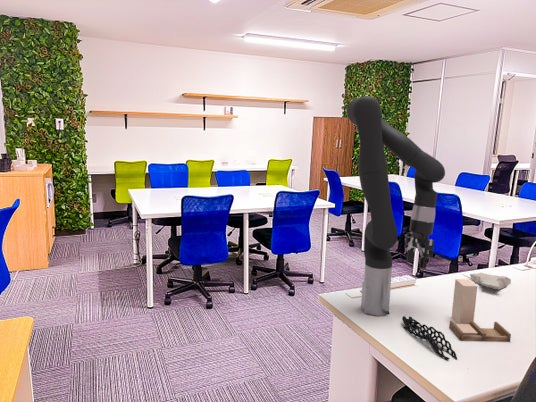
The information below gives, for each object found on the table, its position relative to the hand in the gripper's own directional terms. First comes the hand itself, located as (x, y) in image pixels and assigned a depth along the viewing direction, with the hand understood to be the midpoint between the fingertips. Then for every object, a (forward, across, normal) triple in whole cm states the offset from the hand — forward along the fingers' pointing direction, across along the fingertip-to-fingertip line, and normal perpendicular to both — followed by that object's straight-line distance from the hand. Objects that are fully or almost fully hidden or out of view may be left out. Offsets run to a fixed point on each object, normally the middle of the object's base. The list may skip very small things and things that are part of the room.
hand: (415, 265), depth 139 cm
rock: (+11, -21, +47) cm, 53 cm away
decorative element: (+20, +19, -4) cm, 28 cm away
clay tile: (+17, +17, +10) cm, 26 cm away
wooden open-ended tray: (+18, +18, +14) cm, 29 cm away
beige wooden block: (+17, +9, +14) cm, 24 cm away
